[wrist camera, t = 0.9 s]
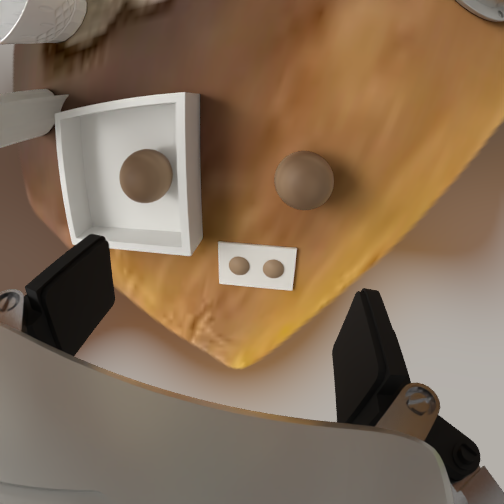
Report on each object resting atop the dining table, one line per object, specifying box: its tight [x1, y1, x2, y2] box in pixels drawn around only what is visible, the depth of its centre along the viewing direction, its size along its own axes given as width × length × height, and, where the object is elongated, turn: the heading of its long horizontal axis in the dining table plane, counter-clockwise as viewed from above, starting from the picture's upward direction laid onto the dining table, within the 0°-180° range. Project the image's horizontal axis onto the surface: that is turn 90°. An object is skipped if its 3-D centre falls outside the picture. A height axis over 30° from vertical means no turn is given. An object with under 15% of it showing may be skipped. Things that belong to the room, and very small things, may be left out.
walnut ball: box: [274, 151, 334, 210], centre depth 24 cm, size 5×5×5 cm
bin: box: [55, 92, 203, 256], centre depth 26 cm, size 15×15×4 cm
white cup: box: [0, 0, 87, 45], centre depth 16 cm, size 8×8×10 cm
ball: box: [119, 149, 173, 203], centre depth 25 cm, size 5×5×5 cm
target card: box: [218, 241, 297, 291], centre depth 31 cm, size 8×5×1 cm, turn 88°
